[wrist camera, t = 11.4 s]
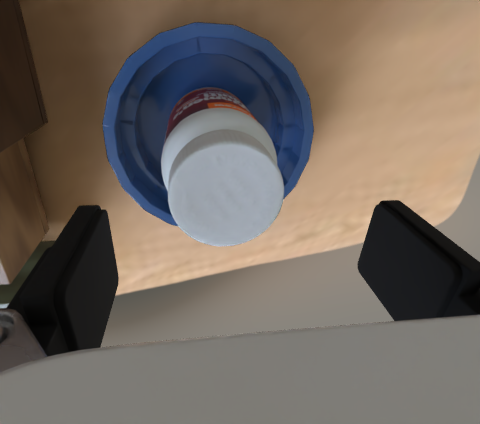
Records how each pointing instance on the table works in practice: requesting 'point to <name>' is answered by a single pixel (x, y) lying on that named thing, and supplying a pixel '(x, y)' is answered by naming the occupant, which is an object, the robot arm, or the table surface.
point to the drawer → (19, 221)
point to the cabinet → (17, 79)
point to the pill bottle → (220, 169)
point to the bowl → (191, 78)
